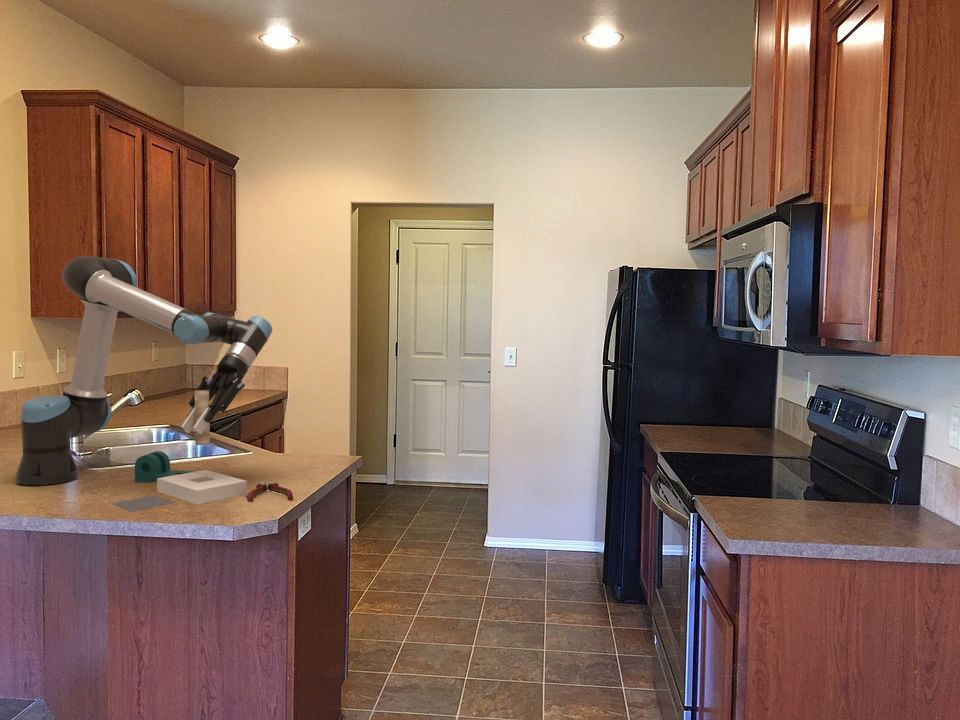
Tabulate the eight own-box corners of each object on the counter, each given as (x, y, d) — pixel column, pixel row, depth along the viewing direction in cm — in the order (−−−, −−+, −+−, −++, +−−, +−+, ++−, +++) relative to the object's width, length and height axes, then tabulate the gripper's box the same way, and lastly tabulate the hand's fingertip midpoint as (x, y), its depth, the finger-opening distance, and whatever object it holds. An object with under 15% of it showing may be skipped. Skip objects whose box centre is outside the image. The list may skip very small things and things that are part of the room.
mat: (110, 505, 176) (110, 503, 176) (154, 497, 185) (154, 495, 185) (132, 513, 169) (131, 511, 169) (176, 504, 178) (176, 502, 178)
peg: (192, 443, 187) (192, 391, 186) (205, 442, 190) (204, 390, 189) (200, 445, 185) (199, 392, 184) (212, 443, 187) (211, 390, 187)
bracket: (134, 482, 201) (134, 455, 201) (148, 477, 208) (147, 450, 207) (195, 485, 199) (195, 457, 199) (207, 479, 206) (206, 452, 205)
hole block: (157, 493, 189) (157, 478, 189) (205, 483, 200) (205, 469, 199) (197, 506, 176) (197, 490, 176) (246, 495, 187) (246, 480, 187)
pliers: (286, 484, 202) (286, 475, 202) (294, 502, 183) (293, 492, 183) (244, 487, 198) (243, 478, 198) (247, 506, 179) (247, 496, 179)
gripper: (266, 372, 197) (223, 441, 183) (220, 370, 203) (175, 436, 189) (252, 354, 192) (207, 423, 177) (206, 352, 198) (159, 419, 184)
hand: (191, 430), depth 183 cm, fingers closed on peg, 3 cm apart
